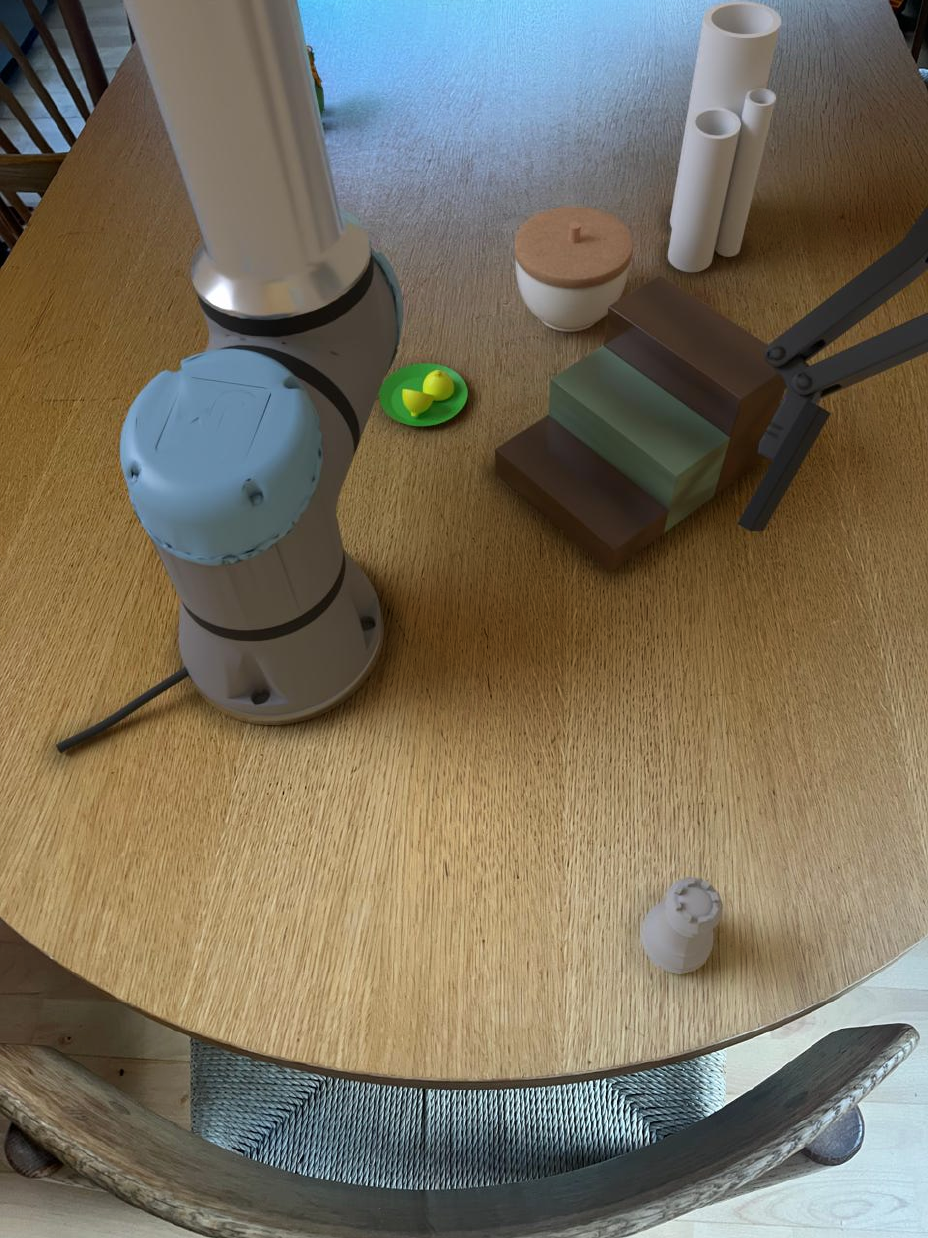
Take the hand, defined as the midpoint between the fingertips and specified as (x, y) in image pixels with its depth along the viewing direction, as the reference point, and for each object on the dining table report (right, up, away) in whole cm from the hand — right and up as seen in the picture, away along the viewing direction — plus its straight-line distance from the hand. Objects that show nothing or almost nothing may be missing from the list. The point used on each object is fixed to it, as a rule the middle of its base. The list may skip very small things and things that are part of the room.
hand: (877, 597), depth 46 cm
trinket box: (-9, +29, +49) cm, 57 cm away
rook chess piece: (-6, -21, +16) cm, 27 cm away
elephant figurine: (-37, +58, +68) cm, 97 cm away
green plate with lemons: (-23, +19, +43) cm, 52 cm away
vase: (+5, +38, +54) cm, 67 cm away
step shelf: (-5, +12, +38) cm, 40 cm away
